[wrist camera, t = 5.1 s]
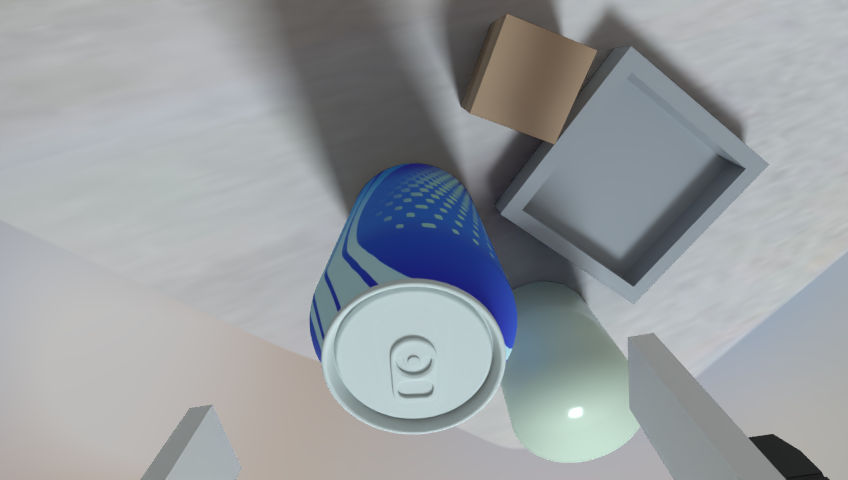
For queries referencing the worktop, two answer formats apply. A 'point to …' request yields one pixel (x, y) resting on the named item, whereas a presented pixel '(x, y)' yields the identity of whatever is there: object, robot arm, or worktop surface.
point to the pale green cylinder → (565, 378)
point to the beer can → (413, 306)
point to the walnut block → (527, 78)
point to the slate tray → (629, 176)
